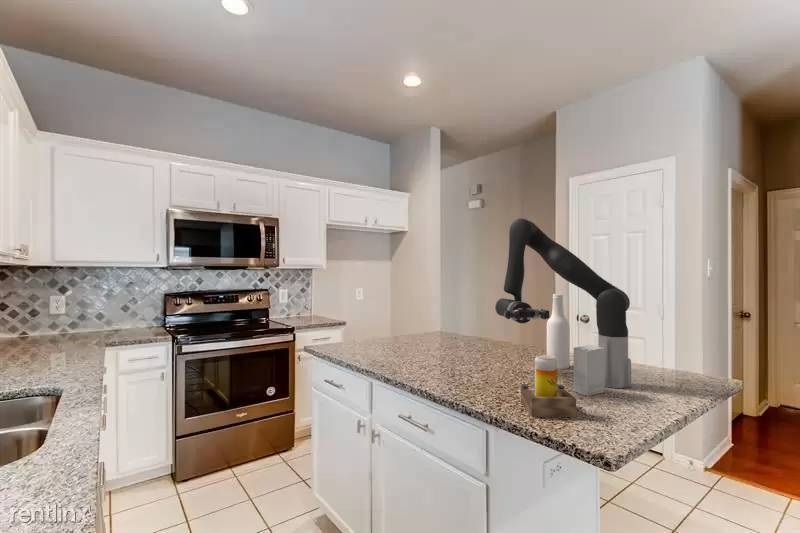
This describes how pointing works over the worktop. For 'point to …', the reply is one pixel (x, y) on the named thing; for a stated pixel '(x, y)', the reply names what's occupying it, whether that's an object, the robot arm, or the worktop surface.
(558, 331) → the alcohol
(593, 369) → the skincare box
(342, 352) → the worktop surface
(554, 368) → the beer can
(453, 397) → the worktop surface
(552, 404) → the holder
